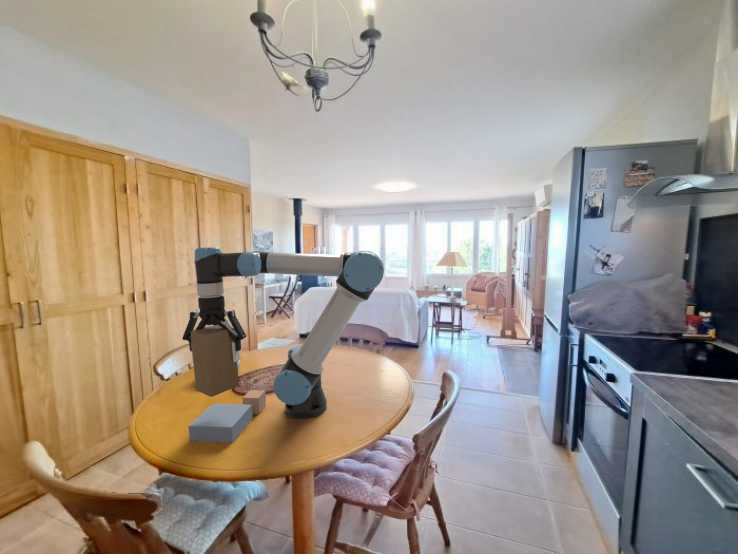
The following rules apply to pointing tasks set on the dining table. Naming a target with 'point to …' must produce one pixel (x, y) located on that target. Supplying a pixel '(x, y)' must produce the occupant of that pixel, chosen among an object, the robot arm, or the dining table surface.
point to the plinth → (220, 423)
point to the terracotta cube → (255, 400)
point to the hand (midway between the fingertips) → (216, 360)
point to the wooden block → (213, 360)
